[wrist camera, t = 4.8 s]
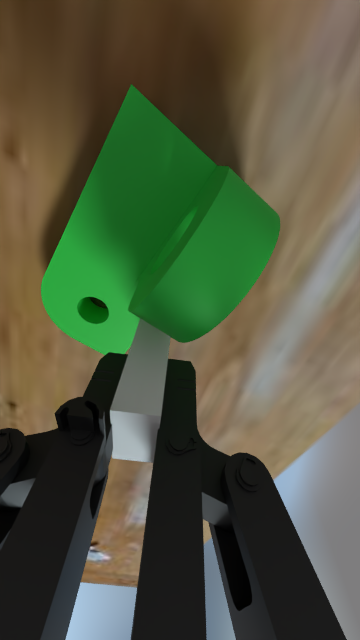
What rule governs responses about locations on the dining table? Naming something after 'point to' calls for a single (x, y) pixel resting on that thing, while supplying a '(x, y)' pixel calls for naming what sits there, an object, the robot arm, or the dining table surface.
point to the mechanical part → (156, 238)
